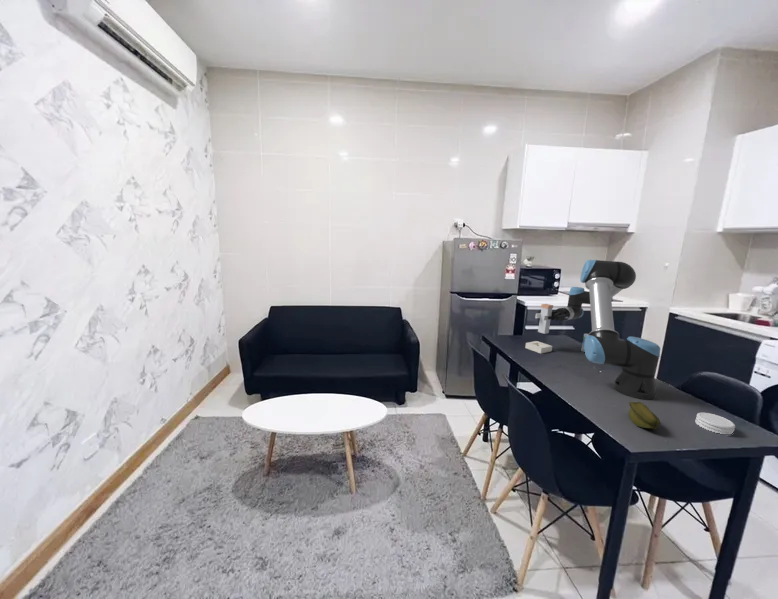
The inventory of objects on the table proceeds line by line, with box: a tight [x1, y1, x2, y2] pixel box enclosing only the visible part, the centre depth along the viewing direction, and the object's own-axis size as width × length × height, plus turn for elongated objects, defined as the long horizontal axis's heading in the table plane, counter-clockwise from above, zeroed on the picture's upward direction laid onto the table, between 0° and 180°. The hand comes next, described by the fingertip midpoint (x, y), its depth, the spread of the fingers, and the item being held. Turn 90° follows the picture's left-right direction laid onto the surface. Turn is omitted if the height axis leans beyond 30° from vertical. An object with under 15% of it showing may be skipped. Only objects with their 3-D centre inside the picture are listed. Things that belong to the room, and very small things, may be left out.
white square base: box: [525, 340, 553, 354], centre depth 194 cm, size 10×10×4 cm
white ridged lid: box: [694, 412, 736, 435], centre depth 120 cm, size 10×10×4 cm
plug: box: [537, 303, 554, 335], centre depth 192 cm, size 4×4×16 cm
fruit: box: [628, 401, 661, 430], centre depth 120 cm, size 11×12×7 cm
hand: (539, 317), depth 189 cm, fingers closed on plug, 4 cm apart
